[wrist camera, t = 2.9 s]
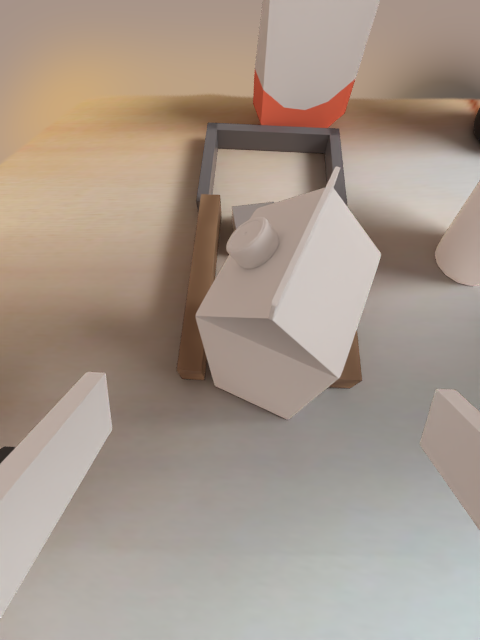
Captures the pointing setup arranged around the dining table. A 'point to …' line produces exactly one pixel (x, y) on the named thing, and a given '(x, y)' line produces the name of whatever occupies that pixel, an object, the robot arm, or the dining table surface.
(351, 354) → the channel
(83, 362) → the dining table surface
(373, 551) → the dining table surface
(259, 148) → the grey u-shaped frame
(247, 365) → the milk carton
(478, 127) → the cola bottle
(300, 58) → the french fries container
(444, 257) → the foam cup
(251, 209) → the chip
